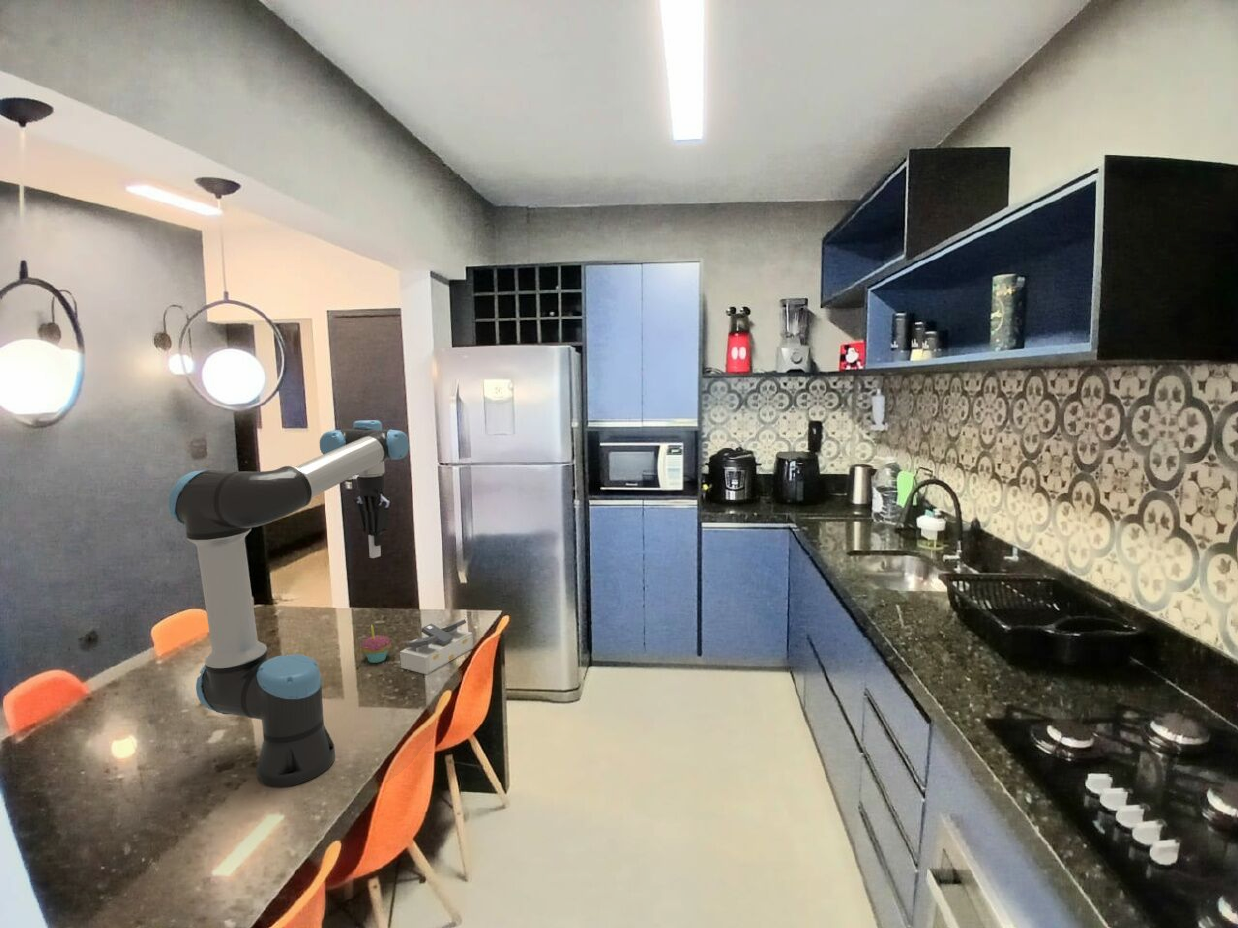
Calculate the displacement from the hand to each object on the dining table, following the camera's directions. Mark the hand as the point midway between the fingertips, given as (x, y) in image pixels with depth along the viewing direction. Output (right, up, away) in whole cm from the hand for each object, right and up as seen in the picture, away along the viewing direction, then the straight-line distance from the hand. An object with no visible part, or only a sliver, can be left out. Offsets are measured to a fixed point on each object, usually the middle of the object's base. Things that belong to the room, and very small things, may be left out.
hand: (375, 556), depth 180 cm
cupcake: (-3, -33, +9) cm, 34 cm away
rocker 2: (+15, -25, +9) cm, 30 cm away
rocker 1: (+12, -25, +4) cm, 28 cm away
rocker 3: (+18, -24, +15) cm, 33 cm away
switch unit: (+15, -32, +10) cm, 37 cm away
